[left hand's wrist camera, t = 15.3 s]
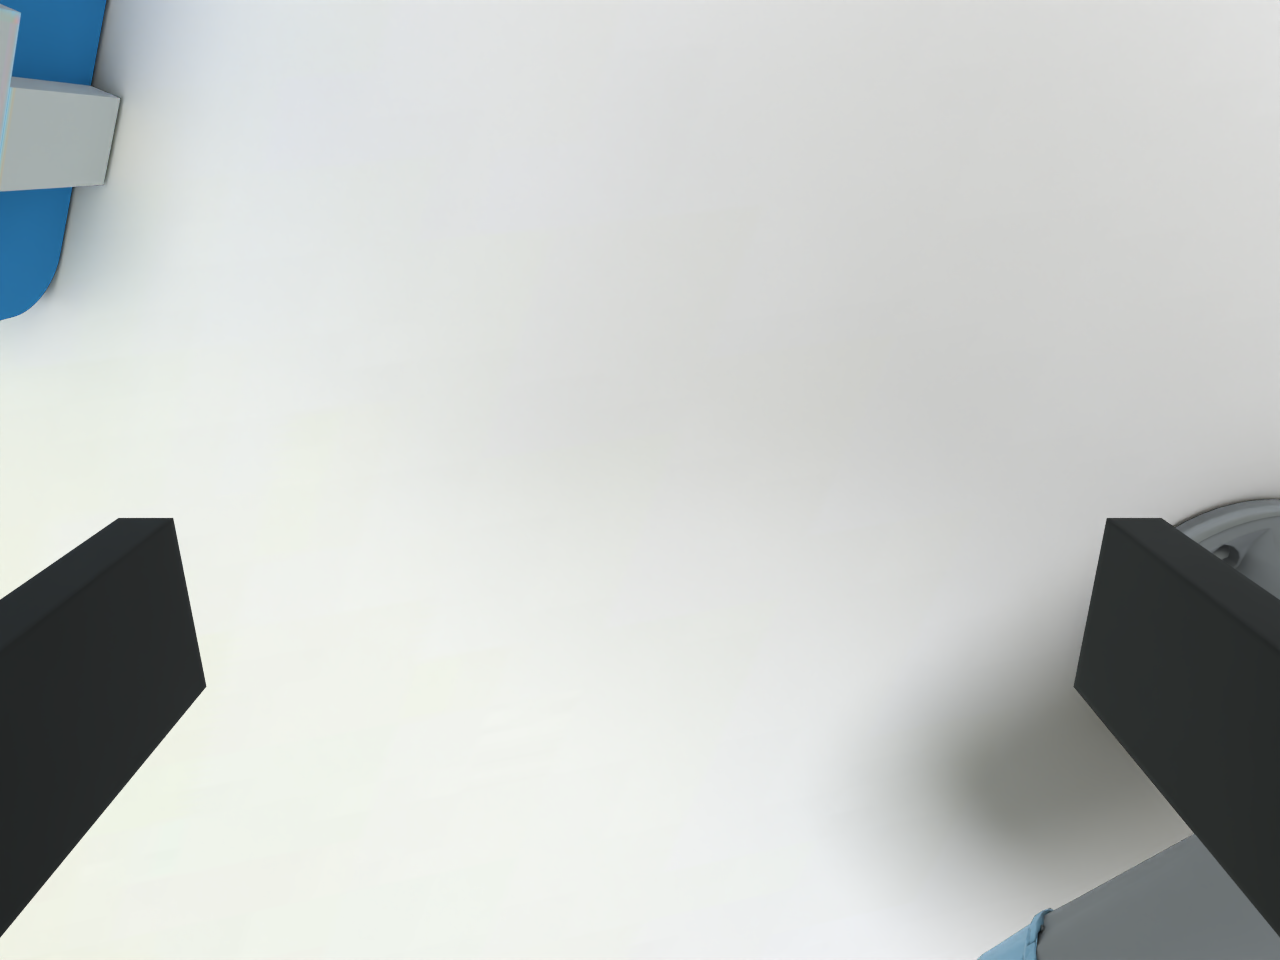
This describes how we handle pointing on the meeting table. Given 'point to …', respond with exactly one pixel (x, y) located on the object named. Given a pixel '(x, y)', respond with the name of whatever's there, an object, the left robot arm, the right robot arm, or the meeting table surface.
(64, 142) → the logo
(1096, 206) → the meeting table surface
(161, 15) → the meeting table surface
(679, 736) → the meeting table surface
